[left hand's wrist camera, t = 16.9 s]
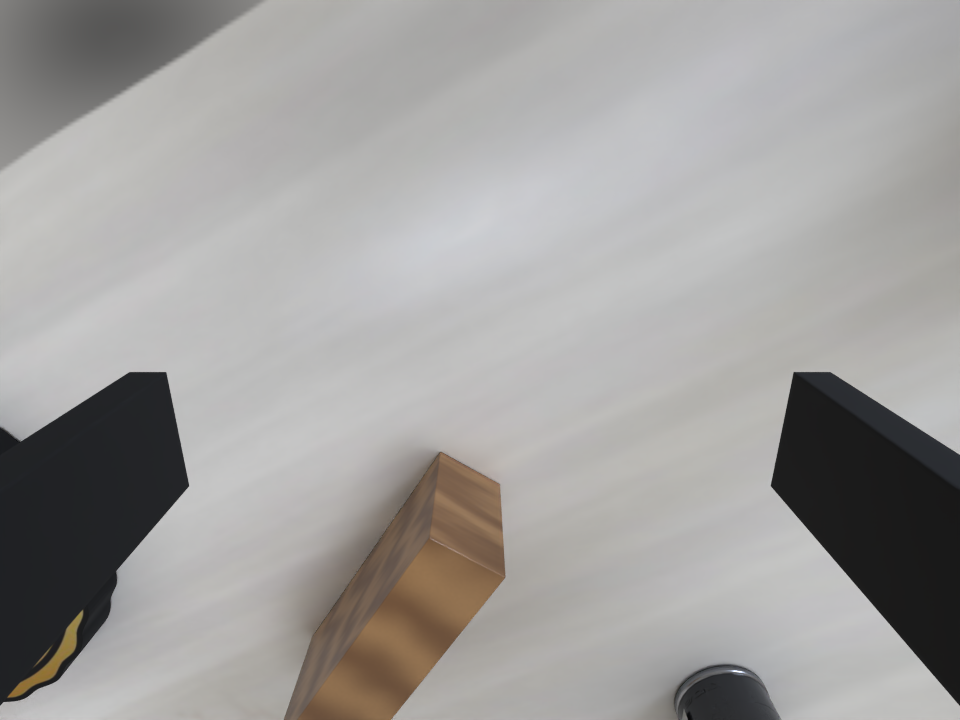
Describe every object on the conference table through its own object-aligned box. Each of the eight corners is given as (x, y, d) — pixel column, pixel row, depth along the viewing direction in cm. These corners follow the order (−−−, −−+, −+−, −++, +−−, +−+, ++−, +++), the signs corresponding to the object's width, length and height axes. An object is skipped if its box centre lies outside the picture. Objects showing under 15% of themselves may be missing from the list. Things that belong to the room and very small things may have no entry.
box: (440, 451, 50) (429, 537, 39) (500, 484, 51) (505, 577, 40) (311, 637, 57) (271, 755, 46) (366, 662, 58) (340, 783, 47)
